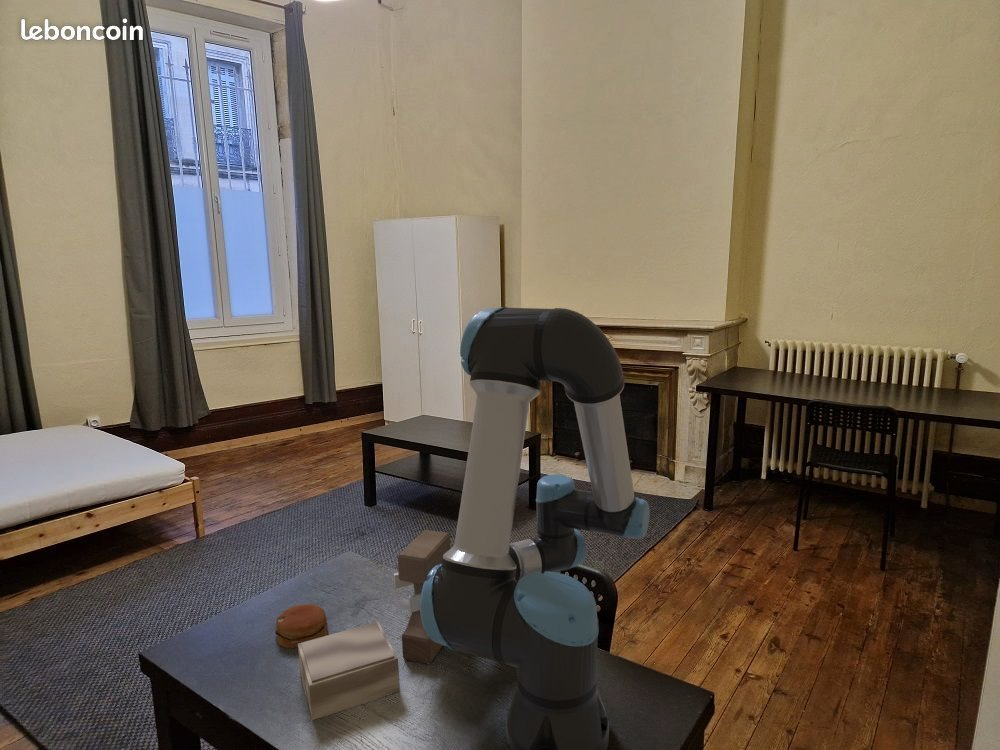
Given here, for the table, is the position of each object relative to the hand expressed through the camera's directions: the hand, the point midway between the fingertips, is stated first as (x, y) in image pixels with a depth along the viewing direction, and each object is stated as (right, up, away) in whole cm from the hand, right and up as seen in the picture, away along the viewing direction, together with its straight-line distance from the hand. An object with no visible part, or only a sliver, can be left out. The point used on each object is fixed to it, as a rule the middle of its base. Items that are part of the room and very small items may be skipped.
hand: (401, 592), depth 111 cm
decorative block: (+5, -11, +3) cm, 12 cm away
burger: (-20, -11, +7) cm, 24 cm away
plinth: (-8, -13, -7) cm, 16 cm away
